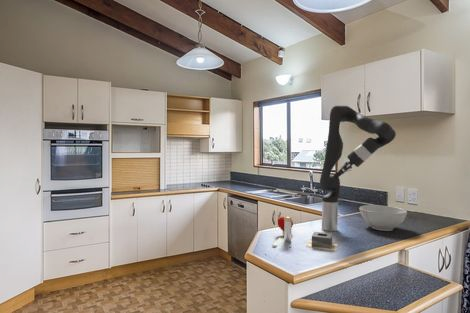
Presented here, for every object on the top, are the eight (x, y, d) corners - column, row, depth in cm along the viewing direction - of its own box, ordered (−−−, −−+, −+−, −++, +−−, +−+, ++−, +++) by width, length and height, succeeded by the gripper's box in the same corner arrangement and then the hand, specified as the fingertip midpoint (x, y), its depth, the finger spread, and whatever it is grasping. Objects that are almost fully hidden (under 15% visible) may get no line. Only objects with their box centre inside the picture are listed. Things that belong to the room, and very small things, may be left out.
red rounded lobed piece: (295, 235, 176) (295, 218, 175) (288, 238, 170) (289, 220, 170) (281, 232, 182) (281, 215, 181) (274, 234, 177) (274, 217, 176)
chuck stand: (309, 242, 164) (310, 229, 164) (337, 245, 159) (338, 233, 158) (305, 250, 151) (305, 236, 151) (335, 254, 146) (336, 240, 145)
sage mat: (279, 239, 168) (279, 237, 168) (301, 242, 164) (301, 240, 164) (272, 246, 155) (272, 244, 155) (296, 250, 151) (296, 248, 151)
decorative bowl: (351, 228, 194) (352, 208, 194) (368, 221, 213) (369, 203, 213) (398, 237, 175) (398, 215, 175) (412, 228, 194) (412, 209, 194)
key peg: (285, 241, 162) (285, 216, 161) (291, 242, 160) (292, 217, 160) (283, 243, 158) (283, 217, 158) (290, 244, 157) (290, 218, 157)
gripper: (354, 150, 164) (331, 171, 169) (353, 150, 151) (328, 172, 156) (364, 160, 162) (341, 181, 167) (365, 161, 149) (339, 184, 154)
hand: (335, 177), depth 161 cm, fingers open, 8 cm apart
